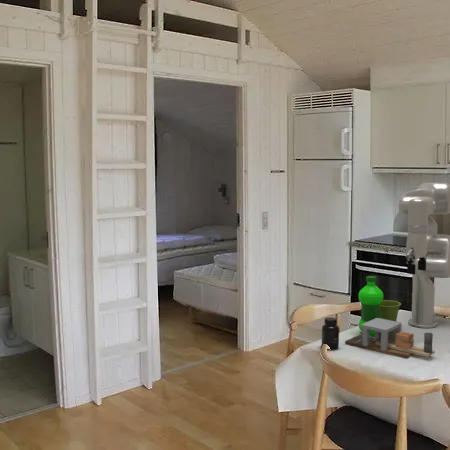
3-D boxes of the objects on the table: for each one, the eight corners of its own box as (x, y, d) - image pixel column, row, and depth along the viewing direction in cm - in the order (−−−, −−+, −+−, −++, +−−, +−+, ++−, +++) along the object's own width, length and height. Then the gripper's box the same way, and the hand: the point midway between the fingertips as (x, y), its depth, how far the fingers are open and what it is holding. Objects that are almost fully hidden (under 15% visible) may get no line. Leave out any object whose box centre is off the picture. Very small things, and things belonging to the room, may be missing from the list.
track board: (359, 337, 253) (359, 334, 253) (420, 350, 235) (420, 347, 235) (344, 343, 244) (345, 340, 244) (407, 358, 226) (407, 355, 226)
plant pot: (395, 323, 273) (396, 299, 271) (404, 331, 261) (404, 306, 259) (369, 324, 272) (370, 299, 271) (377, 331, 260) (377, 306, 259)
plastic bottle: (355, 335, 255) (356, 278, 252) (361, 329, 264) (362, 273, 261) (379, 338, 251) (381, 280, 248) (384, 331, 260) (385, 275, 257)
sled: (382, 341, 243) (382, 322, 242) (434, 352, 228) (435, 332, 227) (375, 344, 238) (375, 325, 237) (428, 357, 224) (429, 336, 223)
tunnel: (376, 337, 248) (376, 317, 247) (401, 343, 241) (401, 322, 240) (360, 345, 239) (361, 324, 238) (385, 351, 231) (386, 329, 230)
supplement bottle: (338, 351, 236) (339, 321, 234) (321, 350, 237) (321, 320, 236) (338, 345, 243) (339, 316, 241) (321, 344, 244) (322, 316, 242)
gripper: (418, 226, 245) (417, 267, 247) (398, 231, 232) (397, 274, 235) (436, 228, 240) (434, 269, 242) (417, 232, 227) (416, 276, 229)
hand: (416, 272), depth 238 cm, fingers open, 9 cm apart
